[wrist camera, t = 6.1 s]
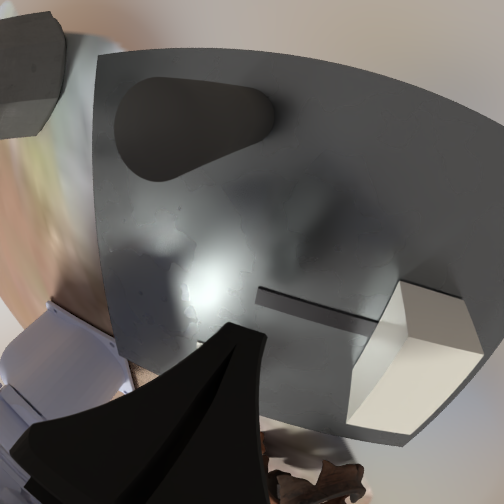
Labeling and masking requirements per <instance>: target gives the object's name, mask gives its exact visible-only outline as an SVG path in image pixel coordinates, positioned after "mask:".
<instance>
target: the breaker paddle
mask: <svg viewBox="0 0 504 504" xmlns="http://www.w3.org/2000/svg"><path fill="white" fill-rule="evenodd" d="M483 356H484V353H483V350H482V347H481V344H480V341H479V338H478V335H477V333H476V330H475V327H474V325H473V322H472V319H471V317H470V314H469V312H468V309H467V307H466V304H465V302H464V300H461V299H458V298H454V297H451V296H448V295H445V294H442V293H438V292H435V291H432V290H428V289H425V288H422V287H419V286H415V285H412V284H409V283H406V282H402V281H399V282H398V284H397V287H396V289H395V291H394V293H393V295H392V297H391V299H390V301H389V303H388V305H387V307H386V309H385V311H384V313H383V315H382V317H381V319H380V321H379V323H378V325H377V327H376V329H375V331H374V333H373V334H372V336H371V338H370V340H369V342H368V344H367V345H366V347H365V349H364V351H363V352H362V354H361V356H360V358H359V359H358V361H357V363H356V364H355V366H354V368H353V370H352V380H351V389H350V397H349V405H348V412H347V419H346V424H350V425H355V426H360V427H365V428H370V429H376V430H382V431H388V432H394V433H401V434H408V435H411V434H412V433H413V432H414V431H415V430H416V429H417V428H418V427H419V426H420V425H421V424H423V423H424V422H425V421H426V420H427V419H428V418H429V417H430V416H431V415H432V414H433V413H434V412H435V411H436V410H437V409H438V408H439V407H440V406H441V405H442V404H443V403H444V402H445V401H446V399H447V398H448V397H449V396H450V395H451V394H452V393H453V392H454V391H455V390H456V389H457V387H458V386H459V385H460V384H461V383H462V382H463V381H464V379H465V378H466V377H467V376H468V375H469V373H470V372H471V371H472V370H473V369H474V367H475V366H476V365H477V364H478V362H479V361H480V360H481V358H482V357H483Z"/></svg>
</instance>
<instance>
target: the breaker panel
mask: <svg viewBox="0 0 504 504" xmlns="http://www.w3.org/2000/svg"><path fill="white" fill-rule="evenodd" d="M151 77H170V78H182V79H192V80H202V81H210V82H218V83H225V84H232V85H238V86H244V87H250V88H254V89H257V90H259V91H260V92H262V93H263V94H264V95H266V96H267V98H268V99H269V100H270V102H271V104H272V106H273V109H274V124H273V127H272V129H271V131H270V133H269V134H268V135H267V136H266V137H265V138H264V139H263V140H262V141H260V142H258V143H256V144H254V145H251V146H248V147H246V148H243V149H241V150H238V151H236V152H234V153H231V154H229V155H226V156H224V157H222V158H219V159H217V160H215V161H212V162H210V163H208V164H205V165H203V166H201V167H199V168H196V169H194V170H192V171H190V172H187V173H185V174H183V175H181V176H179V177H177V178H175V179H172V180H169V181H165V182H152V181H148V180H145V179H143V178H140V177H139V176H137V175H136V174H134V173H133V172H132V171H131V170H130V169H129V168H128V167H127V166H126V164H125V163H124V162H123V160H122V158H121V157H120V154H119V152H118V150H117V147H116V143H115V137H114V120H115V115H116V112H117V108H118V106H119V104H120V102H121V100H122V98H123V97H124V95H125V94H126V93H127V91H128V90H129V89H130V88H131V87H133V86H134V85H135V84H137V83H138V82H140V81H142V80H145V79H147V78H151ZM92 164H93V191H94V206H95V219H96V229H97V239H98V247H99V255H100V263H101V269H102V276H103V282H104V288H105V294H106V299H107V305H108V310H109V315H110V319H111V324H112V329H113V333H114V337H115V342H116V346H117V350H118V354H119V356H121V357H123V358H125V359H127V360H129V361H131V362H133V363H135V364H137V365H139V366H141V367H143V368H145V369H147V370H149V371H151V372H153V373H155V374H157V375H159V376H160V375H161V374H163V373H164V372H166V371H167V370H169V369H170V368H172V367H173V366H175V365H176V364H178V363H179V362H181V361H182V360H183V359H185V358H186V357H187V356H188V355H190V354H191V353H192V352H194V351H195V350H196V349H197V348H199V347H200V346H201V345H202V344H203V343H205V342H206V341H207V340H208V339H209V338H210V337H212V336H213V335H214V334H215V333H216V332H217V331H218V330H219V329H220V328H221V327H222V326H223V325H224V324H225V323H227V322H232V323H235V324H238V325H241V326H244V327H247V328H250V329H253V330H256V331H259V332H262V333H265V334H266V335H267V337H268V338H267V342H266V346H265V349H264V353H263V357H262V362H261V370H260V385H259V415H261V416H264V417H267V418H270V419H274V420H277V421H280V422H284V423H287V424H291V425H295V426H298V427H302V428H306V429H310V430H314V431H318V432H322V433H326V434H331V435H335V436H340V437H345V438H350V439H355V440H360V441H366V442H372V443H378V444H385V445H391V446H399V447H403V446H404V445H405V444H406V443H408V442H409V441H410V440H411V439H412V438H414V437H415V436H416V435H417V434H418V433H419V432H421V431H422V430H423V429H424V428H425V427H426V426H427V425H428V424H429V423H430V422H431V421H432V420H433V419H434V418H436V417H437V416H438V415H439V414H440V413H441V412H442V411H443V410H444V409H445V407H447V405H449V403H451V401H452V400H453V399H454V398H455V397H456V396H457V395H458V394H459V393H460V392H461V391H462V390H463V389H464V387H465V386H466V385H467V384H468V383H469V382H470V381H471V379H472V378H473V377H474V376H475V375H476V373H477V372H478V371H479V370H480V369H481V367H482V366H483V365H484V364H485V362H486V361H487V360H488V359H489V357H490V356H491V355H492V353H493V352H494V351H495V349H496V348H497V347H498V345H499V344H500V343H501V341H502V340H503V338H504V126H502V125H500V124H499V123H497V122H495V121H493V120H491V119H489V118H487V117H486V116H483V115H481V114H480V113H478V112H475V111H473V110H471V109H469V108H467V107H465V106H463V105H461V104H459V103H456V102H454V101H452V100H449V99H447V98H444V97H442V96H440V95H438V94H435V93H433V92H430V91H427V90H425V89H422V88H419V87H417V86H414V85H411V84H408V83H405V82H402V81H399V80H396V79H393V78H389V77H387V76H383V75H380V74H376V73H373V72H369V71H366V70H362V69H358V68H354V67H350V66H346V65H342V64H337V63H332V62H328V61H323V60H318V59H312V58H307V57H300V56H294V55H288V54H280V53H272V52H263V51H252V50H240V49H239V50H238V49H222V48H170V49H169V48H168V49H150V50H138V51H128V52H119V53H111V54H104V55H98V60H97V68H96V78H95V90H94V105H93V131H92ZM399 281H402V282H406V283H409V284H412V285H415V286H419V287H422V288H425V289H428V290H432V291H435V292H438V293H442V294H445V295H448V296H451V297H454V298H458V299H461V300H464V302H465V304H466V307H467V309H468V312H469V314H470V317H471V319H472V322H473V325H474V327H475V330H476V333H477V335H478V338H479V341H480V344H481V347H482V350H483V353H484V356H483V357H482V358H481V360H480V361H479V362H478V364H477V365H476V366H475V367H474V369H473V370H472V371H471V372H470V373H469V375H468V376H467V377H466V378H465V379H464V381H463V382H462V383H461V384H460V385H459V386H458V387H457V389H456V390H455V391H454V392H453V393H452V394H451V395H450V396H449V397H448V398H447V399H446V401H445V402H444V403H443V404H442V405H441V406H440V407H439V408H438V409H437V410H436V411H435V412H434V413H433V414H432V415H431V416H430V417H429V418H428V419H427V420H426V421H425V422H424V423H423V424H421V425H420V426H419V427H418V428H417V429H416V430H415V431H414V432H413V433H412V434H411V435H408V434H401V433H394V432H388V431H382V430H376V429H370V428H365V427H360V426H355V425H350V424H346V419H347V412H348V405H349V397H350V389H351V380H352V370H353V368H354V366H355V364H356V363H357V361H358V359H359V358H360V356H361V354H362V352H363V351H364V349H365V347H366V345H367V344H368V342H369V340H370V338H371V336H372V334H373V333H374V331H375V329H376V327H377V325H378V323H379V321H380V319H381V317H382V315H383V313H384V311H385V309H386V307H387V305H388V303H389V301H390V299H391V297H392V295H393V293H394V291H395V289H396V287H397V284H398V282H399Z"/></svg>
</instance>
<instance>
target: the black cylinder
mask: <svg viewBox="0 0 504 504" xmlns="http://www.w3.org/2000/svg"><path fill="white" fill-rule="evenodd" d="M273 124H274V109H273V106H272V104H271V102H270V100H269V99H268V98H267V96H266V95H264V94H263V93H262V92H260V91H259V90H257V89H254V88H250V87H244V86H238V85H232V84H225V83H218V82H210V81H202V80H192V79H182V78H170V77H151V78H147V79H145V80H142V81H140V82H138V83H137V84H135V85H134V86H133V87H131V88H130V89H129V90H128V91H127V93H126V94H125V95H124V97H123V98H122V100H121V102H120V104H119V106H118V108H117V112H116V115H115V120H114V137H115V143H116V147H117V150H118V152H119V154H120V157H121V158H122V160H123V162H124V163H125V164H126V166H127V167H128V168H129V169H130V170H131V171H132V172H133V173H134V174H136V175H137V176H139V177H140V178H143V179H145V180H148V181H152V182H165V181H169V180H172V179H175V178H177V177H179V176H181V175H183V174H185V173H187V172H190V171H192V170H194V169H196V168H199V167H201V166H203V165H205V164H208V163H210V162H212V161H215V160H217V159H219V158H222V157H224V156H226V155H229V154H231V153H234V152H236V151H238V150H241V149H243V148H246V147H248V146H251V145H254V144H256V143H258V142H260V141H262V140H263V139H264V138H265V137H266V136H267V135H268V134H269V133H270V131H271V129H272V127H273Z"/></svg>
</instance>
